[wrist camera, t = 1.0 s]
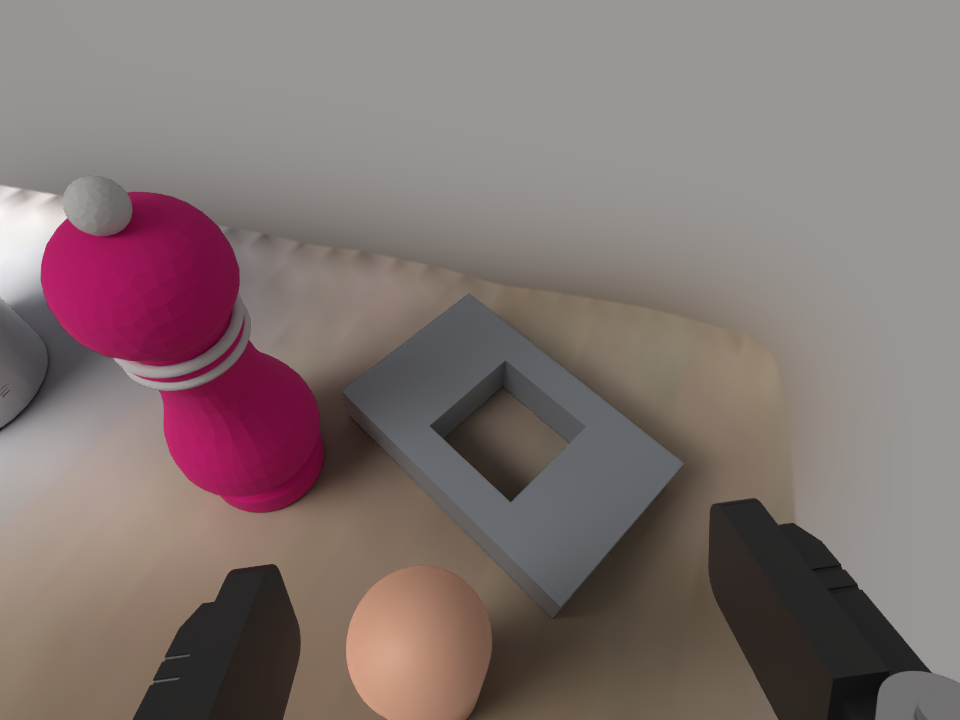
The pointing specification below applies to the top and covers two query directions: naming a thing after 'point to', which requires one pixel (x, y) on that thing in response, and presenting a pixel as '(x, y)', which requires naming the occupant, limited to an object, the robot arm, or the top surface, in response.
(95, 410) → the top surface
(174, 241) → the pepper mill
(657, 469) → the socket block
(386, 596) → the dowel
